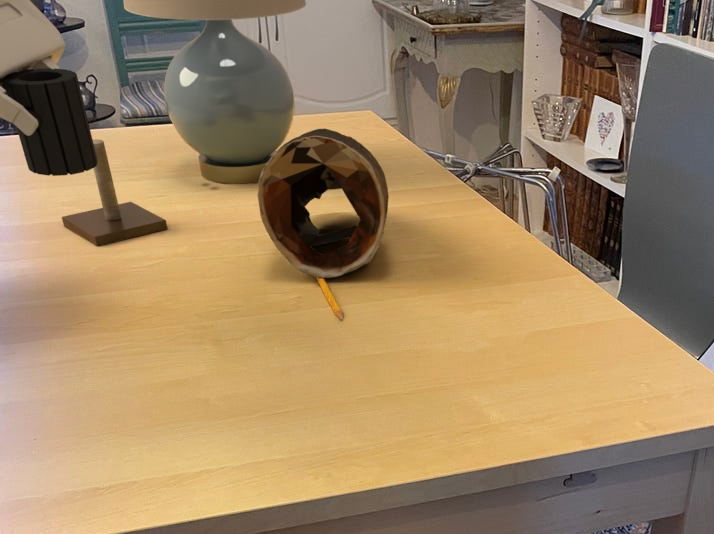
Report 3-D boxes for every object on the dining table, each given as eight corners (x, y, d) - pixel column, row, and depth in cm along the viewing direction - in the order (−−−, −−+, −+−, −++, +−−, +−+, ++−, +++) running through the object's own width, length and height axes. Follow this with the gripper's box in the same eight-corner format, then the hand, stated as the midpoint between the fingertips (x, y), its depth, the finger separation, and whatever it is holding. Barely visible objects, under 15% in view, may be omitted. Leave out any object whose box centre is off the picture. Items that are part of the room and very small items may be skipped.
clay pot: (379, 114, 125) (374, 122, 103) (400, 237, 133) (399, 268, 111) (269, 131, 125) (242, 143, 103) (296, 253, 133) (276, 287, 111)
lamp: (331, 191, 138) (301, -154, 112) (157, 202, 133) (84, -155, 107) (312, 146, 155) (282, -161, 130) (158, 154, 151) (95, -163, 125)
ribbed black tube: (45, 180, 92) (19, 87, 87) (18, 164, 96) (-8, 74, 90) (108, 167, 95) (87, 77, 90) (80, 152, 99) (58, 65, 93)
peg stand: (97, 246, 120) (74, 157, 113) (63, 226, 125) (40, 139, 118) (168, 229, 125) (150, 142, 118) (132, 210, 130) (114, 126, 123)
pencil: (321, 278, 113) (321, 272, 113) (345, 322, 104) (345, 316, 104) (315, 278, 113) (314, 272, 113) (338, 323, 104) (338, 316, 103)
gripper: (-131, -16, 77) (18, 121, 83) (-3, -48, 92) (116, 70, 98) (-157, 44, 81) (-12, 172, 87) (-30, 4, 96) (87, 115, 102)
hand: (57, 118), depth 92 cm, fingers closed on ribbed black tube, 7 cm apart
